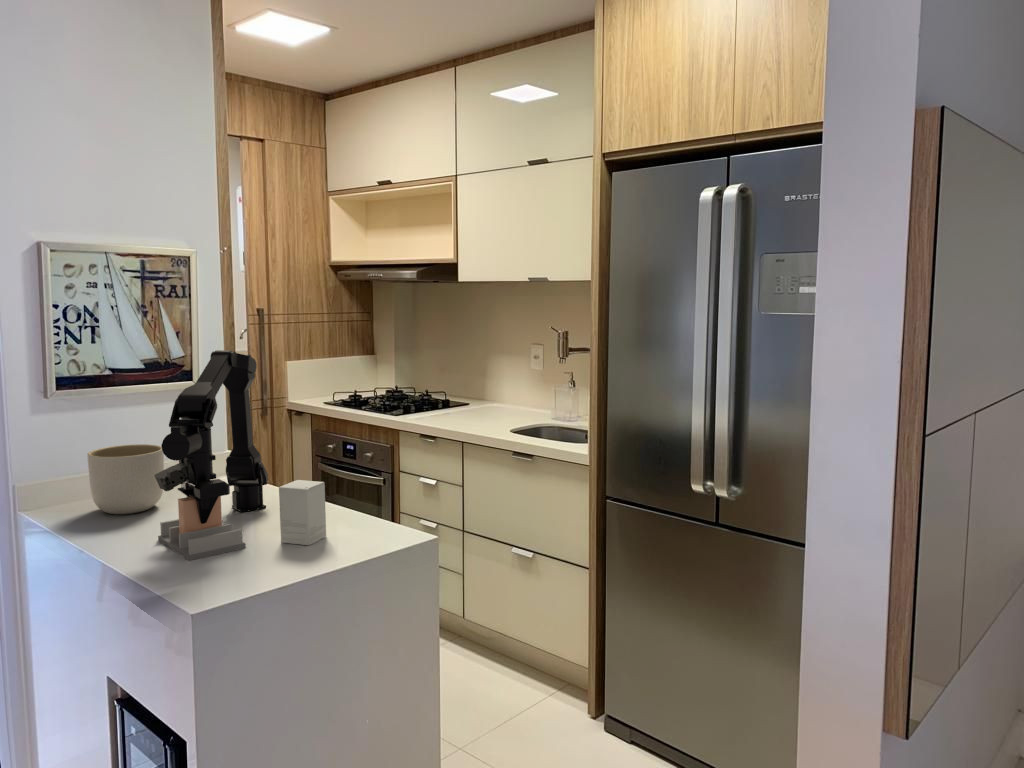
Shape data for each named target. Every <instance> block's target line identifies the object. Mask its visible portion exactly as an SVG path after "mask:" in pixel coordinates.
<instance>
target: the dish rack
mask: <svg viewBox="0 0 1024 768" xmlns="http://www.w3.org/2000/svg"><path fill="white" fill-rule="evenodd" d="M232 524H233V523H227V524H222V525H221V526H216V527H211V528H206V529H200V530H195V531H190V532H185V533H180V531H179V518H177V519H172V520H171V519H170V520H166V521H161V522H160V534H159V535H157V539H158V541H159V542H160V543H162V544H163V545H165V546H166V547H168V548H169V549H170V550H173V551H174V552H175V553H176V554H178V555H179V556H180V557H182V558H184V559H185V560H187V561H193V560H198V559H201V558H202V559H203V558H207V557H211V556H215V555H216V556H217V555H221V554H225V553H228V552H233V551H238V550H242V549H243V550H244V549H246V542H244V541H243V529H241V528H239V529H233V528H232V526H233V525H232Z"/></svg>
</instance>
